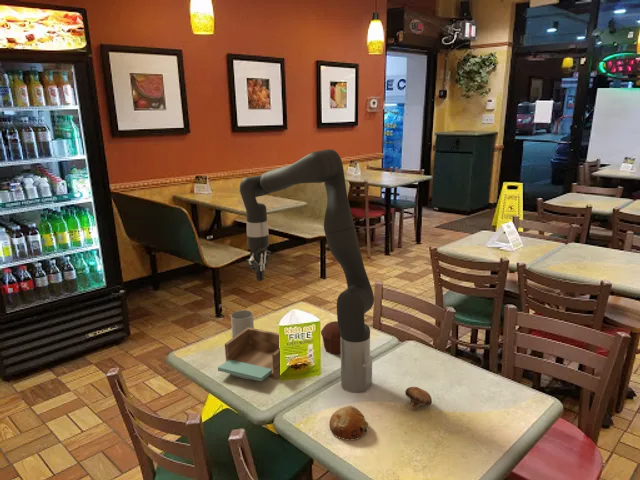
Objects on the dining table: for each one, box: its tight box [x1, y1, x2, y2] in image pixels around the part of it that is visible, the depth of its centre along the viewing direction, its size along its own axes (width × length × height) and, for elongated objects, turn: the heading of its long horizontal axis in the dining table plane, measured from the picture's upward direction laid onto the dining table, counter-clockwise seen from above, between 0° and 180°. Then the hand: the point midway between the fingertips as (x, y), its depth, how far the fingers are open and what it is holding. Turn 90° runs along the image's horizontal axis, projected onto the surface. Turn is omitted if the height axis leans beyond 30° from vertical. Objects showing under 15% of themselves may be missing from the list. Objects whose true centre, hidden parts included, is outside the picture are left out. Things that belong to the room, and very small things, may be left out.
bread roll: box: [328, 405, 369, 441], centre depth 130 cm, size 10×10×8 cm
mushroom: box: [404, 386, 433, 411], centre depth 140 cm, size 8×8×6 cm
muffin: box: [320, 320, 341, 355], centre depth 174 cm, size 12×11×10 cm
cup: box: [230, 309, 255, 339], centre depth 184 cm, size 8×8×10 cm
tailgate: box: [217, 360, 272, 382], centre depth 156 cm, size 17×2×7 cm
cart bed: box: [224, 327, 281, 380], centre depth 165 cm, size 20×14×9 cm
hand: (260, 280), depth 170 cm, fingers closed
